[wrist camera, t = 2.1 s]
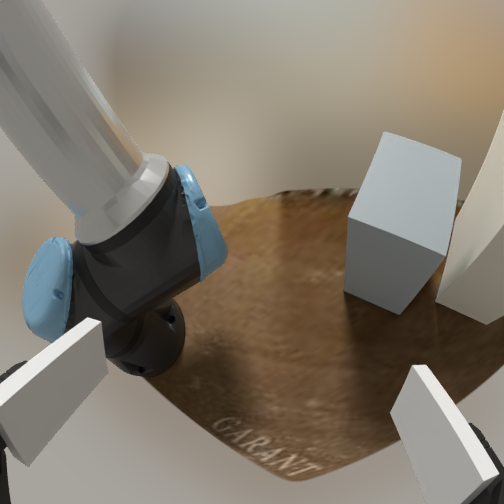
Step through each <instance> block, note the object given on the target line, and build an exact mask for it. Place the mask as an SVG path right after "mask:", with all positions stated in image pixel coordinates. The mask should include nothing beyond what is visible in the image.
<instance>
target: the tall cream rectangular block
mask: <svg viewBox="0 0 504 504" xmlns="http://www.w3.org/2000/svg"><path fill="white" fill-rule="evenodd" d="M435 302H437V303H439V304H442V305H444V306H446V307H448V308H450V309H453V310H455V311H457V312H459V313H462V314H464V315H466V316H468V317H470V318H473V319H475V320H477V321H479V322H481V323H483V324H486V325H488V324H489V323H491V322H493V321H495V320H497V319H498V318H500V317H502V316H504V110H503V113H502V116H501V119H500V123H499V125H498V128H497V130H496V133H495V136H494V138H493V141H492V144H491V146H490V149H489V151H488V154H487V156H486V158H485V161H484V163H483V165H482V168H481V170H480V172H479V174H478V176H477V178H476V181H475V183H474V185H473V187H472V189H471V191H470V193H469V195H468V197H467V199H466V201H465V203H464V205H463V207H462V208H461V210H460V212H459V214H458V216H457V218H456V219H455V224H454V229H453V234H452V239H451V244H450V248H449V252H448V257H447V261H446V265H445V269H444V272H443V276H442V280H441V283H440V287H439V290H438V293H437V297H436V300H435Z"/></svg>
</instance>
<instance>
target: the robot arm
mask: <svg viewBox="0 0 504 504" xmlns="http://www.w3.org/2000/svg"><path fill="white" fill-rule="evenodd" d="M0 127H1V128H2V130H3V131H4V132H5V134H6V135H7V136H8V138H9V139H10V140H11V142H12V143H13V144H14V145H15V147H16V148H17V149H18V151H19V152H20V153H21V154H22V156H23V157H24V158H25V159H26V160H27V161H28V163H29V164H30V165H31V167H32V168H33V169H34V170H35V171H36V172H37V174H38V175H39V176H40V177H41V178H42V179H43V181H44V182H45V183H46V184H47V185H48V186H49V187H50V189H52V191H53V192H54V193H55V194H56V195H57V196H58V197H59V199H60V200H61V201H62V202H63V203H64V204H65V205H66V206H67V207H68V208H69V209H70V210H71V211H72V212H73V213H74V215H75V236H76V238H77V241H76V242H74V243H73V244H70V243H69V241H68V240H66V239H65V238H60V237H52V238H50V239H48V240H47V241H46V242H44V243H43V244H42V246H41V247H40V248H39V250H38V251H37V252H36V254H35V256H34V258H33V260H32V262H31V264H30V267H29V269H28V272H27V275H26V279H25V283H24V288H23V300H22V304H23V305H22V306H23V314H24V319H25V321H26V324H27V325H28V327H29V329H30V330H31V331H32V332H33V333H34V334H35V335H37V336H39V337H41V338H43V339H45V340H47V341H49V342H50V343H52V344H51V345H49V346H48V347H47V348H45V349H44V350H43V351H41V352H40V353H39V354H38V355H36V356H35V357H34V358H33V359H31V360H30V361H23V362H21V363H18V364H16V365H14V366H13V367H11V368H10V369H9V370H7V371H6V373H4V374H2V375H1V376H0V504H11V501H10V494H9V486H8V476H7V463H6V454H5V451H4V449H5V448H6V447H8V448H9V450H10V452H11V453H12V454H13V456H14V457H15V458H17V459H18V460H19V461H21V462H22V463H23V464H25V465H26V466H27V467H29V466H30V464H31V463H32V462H33V461H34V460H35V458H36V457H37V456H38V455H39V453H40V452H41V451H42V450H43V448H44V447H45V446H46V445H47V443H48V442H49V441H50V440H51V439H52V438H53V436H54V435H55V434H56V433H57V432H58V430H59V429H60V428H61V427H62V426H63V425H64V423H65V422H66V421H67V420H68V419H69V417H70V416H71V415H72V414H73V413H74V412H75V410H76V409H77V408H78V407H79V406H80V405H81V403H82V402H83V401H84V400H85V399H86V397H87V396H88V395H89V394H90V393H91V392H92V391H93V390H94V388H95V387H96V386H97V385H98V384H99V383H100V382H101V380H102V379H103V378H104V377H105V376H106V375H107V374H108V369H107V363H106V358H107V359H108V360H110V361H111V362H112V363H113V364H115V365H116V366H117V367H119V368H120V369H121V370H123V371H124V372H126V373H129V374H131V375H136V376H142V377H151V376H155V375H158V374H160V373H162V372H164V371H165V370H167V369H168V368H169V367H170V366H171V365H172V364H173V363H174V361H175V360H176V359H177V357H178V355H179V353H180V351H181V349H182V346H183V342H184V337H185V322H184V317H183V314H182V311H181V309H180V307H179V305H178V304H177V302H176V301H175V300H174V299H173V297H175V296H176V295H178V294H180V293H181V292H183V291H185V290H187V289H188V288H190V287H192V286H193V285H195V284H197V283H198V282H201V281H203V280H204V279H205V277H206V276H208V275H209V274H210V273H212V272H213V271H215V270H216V269H217V268H219V267H220V266H222V265H223V263H224V262H225V260H226V258H227V255H228V250H227V246H226V243H225V240H224V238H223V236H222V233H221V231H220V229H219V226H218V224H217V222H216V220H215V218H214V216H213V214H212V212H211V210H210V207H209V206H208V204H207V202H206V199H205V197H204V195H203V193H202V191H201V188H200V186H199V185H198V182H197V180H196V178H195V176H194V175H193V173H192V171H191V169H190V168H189V166H188V165H186V164H183V165H181V166H175V167H174V169H173V168H172V167H171V165H170V164H169V162H168V161H167V160H166V158H165V157H163V156H161V155H157V154H148V153H143V152H141V150H140V149H139V148H138V146H137V145H136V143H135V142H134V140H133V139H132V138H131V136H130V135H129V133H128V132H127V130H126V129H125V128H124V126H123V124H122V123H121V122H120V120H119V119H118V117H117V116H116V114H115V113H114V111H113V110H112V108H111V107H110V105H109V104H108V102H107V101H106V99H105V98H104V96H103V95H102V93H101V92H100V90H99V89H98V87H97V86H96V84H95V83H94V81H93V80H92V78H91V77H90V75H89V74H88V72H87V71H86V69H85V68H84V66H83V64H82V63H81V61H80V60H79V58H78V57H77V55H76V54H75V52H74V51H73V49H72V47H71V46H70V44H69V42H68V41H67V40H66V38H65V36H64V34H63V33H62V31H61V30H60V28H59V26H58V25H57V23H56V22H55V20H54V18H53V17H52V15H51V13H50V12H49V10H48V8H47V7H46V5H45V3H44V1H43V0H0ZM390 414H391V417H392V419H393V421H394V423H395V426H396V428H397V431H398V433H399V435H400V438H401V440H402V442H403V445H404V447H405V450H406V452H407V455H408V457H409V460H410V462H411V465H412V467H413V470H414V473H415V475H416V478H417V480H418V483H419V486H420V489H421V491H422V494H423V497H424V499H425V502H426V504H504V467H503V465H502V464H501V462H500V461H499V459H498V457H497V456H496V454H495V453H494V451H493V450H492V448H490V445H489V443H488V442H487V441H485V437H484V436H483V434H482V433H481V431H480V430H479V429H478V428H477V427H475V426H474V425H473V424H472V423H467V421H466V420H465V418H464V417H463V415H462V414H461V412H460V411H459V409H458V408H457V407H456V405H455V404H454V402H453V401H452V399H451V398H450V397H449V395H448V394H447V392H446V391H445V390H444V388H443V387H442V386H441V384H440V383H439V381H438V380H437V379H436V377H435V376H434V375H433V373H432V372H431V371H430V369H429V368H428V367H427V365H412V367H411V369H410V371H409V374H408V376H407V378H406V380H405V383H404V385H403V387H402V389H401V391H400V393H399V396H398V398H397V400H396V402H395V404H394V406H393V408H392V410H391V412H390Z"/></svg>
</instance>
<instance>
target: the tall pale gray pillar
mask: <svg viewBox="0 0 504 504" xmlns="http://www.w3.org/2000/svg"><path fill="white" fill-rule="evenodd" d="M460 170H461V158H458V157H456V156H454V155H451V154H449V153H446V152H444V151H441V150H438V149H436V148H433V147H430V146H428V145H425V144H422V143H419V142H416V141H414V140H411V139H408V138H404V137H401V136H398V135H395V134H391V133H388V132H384V133H383V136H382V138H381V141H380V143H379V146H378V148H377V151H376V153H375V156H374V158H373V161H372V163H371V165H370V168H369V170H368V173H367V175H366V178H365V180H364V182H363V184H362V187H361V189H360V191H359V193H358V196H357V198H356V200H355V202H354V205H353V207H352V209H351V211H350V213H349V216H348V230H347V249H346V265H345V278H344V289H343V291H345V292H348V293H350V294H352V295H354V296H357V297H359V298H361V299H364V300H366V301H368V302H370V303H373V304H375V305H377V306H380V307H382V308H384V309H386V310H389V311H391V312H393V313H396V314H398V315H400V314H401V313H402V312H403V310H404V309H405V308H406V307H407V306H408V305H409V303H410V302H411V301H412V300H413V299H414V297H415V296H416V295H417V294H418V292H419V291H420V290H421V289H422V287H423V286H424V285H425V284H426V282H427V281H428V280H429V278H430V277H431V276H432V274H433V273H434V272H435V270H436V269H437V268H438V266H439V265H440V264H441V262H442V261H443V259H444V258H445V257H446V253H447V249H448V245H449V240H450V235H451V230H452V225H453V220H454V214H455V208H456V202H457V195H458V187H459V179H460Z"/></svg>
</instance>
